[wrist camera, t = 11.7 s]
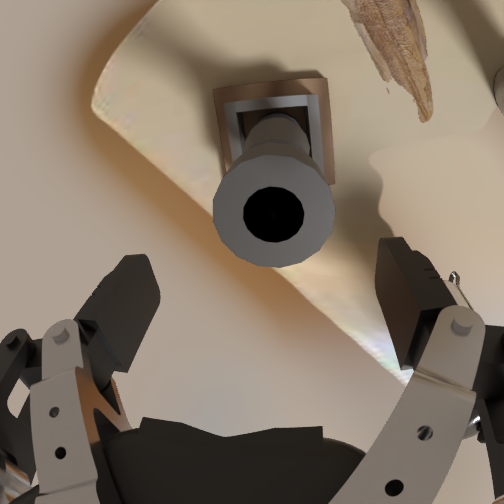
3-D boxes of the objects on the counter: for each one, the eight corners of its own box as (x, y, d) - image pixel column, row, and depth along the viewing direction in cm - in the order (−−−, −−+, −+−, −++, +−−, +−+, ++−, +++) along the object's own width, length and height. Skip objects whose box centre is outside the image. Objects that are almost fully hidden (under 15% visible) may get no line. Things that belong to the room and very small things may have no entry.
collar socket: (325, 78, 32) (334, 76, 26) (333, 180, 39) (342, 197, 33) (215, 89, 34) (202, 89, 28) (231, 189, 41) (223, 206, 35)
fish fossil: (452, 116, 32) (455, 117, 31) (393, 133, 35) (396, 134, 34) (381, -44, 20) (383, -47, 19) (315, -31, 24) (316, -34, 23)
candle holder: (273, 101, 33) (260, 119, 11) (313, 132, 34) (367, 208, 13) (243, 139, 36) (182, 225, 14) (282, 168, 37) (282, 292, 16)
